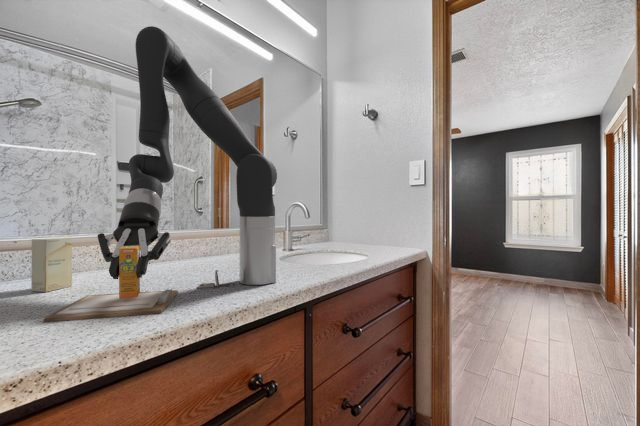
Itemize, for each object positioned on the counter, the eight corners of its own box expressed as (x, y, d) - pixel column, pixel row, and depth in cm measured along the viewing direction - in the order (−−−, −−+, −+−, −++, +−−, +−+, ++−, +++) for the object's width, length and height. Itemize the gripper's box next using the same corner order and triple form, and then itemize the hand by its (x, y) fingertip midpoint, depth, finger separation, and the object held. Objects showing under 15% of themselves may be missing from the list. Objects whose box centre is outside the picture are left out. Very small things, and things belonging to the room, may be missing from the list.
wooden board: (178, 292, 68) (178, 284, 68) (161, 313, 54) (161, 303, 54) (86, 298, 64) (86, 289, 64) (43, 321, 50) (43, 311, 50)
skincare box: (45, 292, 68) (45, 239, 68) (30, 291, 69) (29, 239, 69) (73, 285, 74) (73, 237, 74) (59, 285, 75) (58, 236, 75)
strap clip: (197, 290, 71) (197, 272, 71) (198, 287, 74) (198, 270, 74) (234, 288, 74) (234, 270, 74) (234, 285, 76) (234, 268, 76)
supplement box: (118, 299, 57) (117, 247, 57) (121, 294, 60) (121, 245, 60) (138, 297, 59) (137, 246, 58) (140, 293, 62) (140, 244, 62)
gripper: (101, 200, 64) (76, 267, 53) (173, 201, 69) (165, 262, 57) (109, 223, 69) (88, 289, 58) (176, 223, 74) (169, 283, 62)
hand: (127, 275), depth 58 cm, fingers closed on supplement box, 3 cm apart
